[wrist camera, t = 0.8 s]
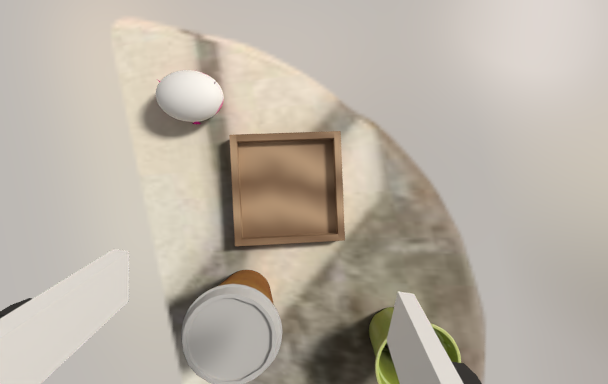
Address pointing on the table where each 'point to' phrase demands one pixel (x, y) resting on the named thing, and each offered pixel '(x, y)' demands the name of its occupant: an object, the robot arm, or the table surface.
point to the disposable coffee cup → (232, 330)
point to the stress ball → (189, 96)
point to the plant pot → (383, 361)
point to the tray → (287, 188)
